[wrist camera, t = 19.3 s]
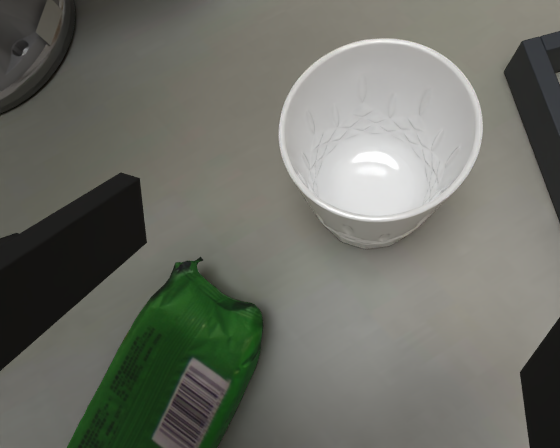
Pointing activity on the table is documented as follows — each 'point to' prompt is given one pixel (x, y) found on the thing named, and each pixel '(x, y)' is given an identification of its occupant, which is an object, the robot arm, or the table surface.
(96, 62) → the table surface
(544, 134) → the dark grey square frame
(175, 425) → the snack package
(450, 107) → the white cup
